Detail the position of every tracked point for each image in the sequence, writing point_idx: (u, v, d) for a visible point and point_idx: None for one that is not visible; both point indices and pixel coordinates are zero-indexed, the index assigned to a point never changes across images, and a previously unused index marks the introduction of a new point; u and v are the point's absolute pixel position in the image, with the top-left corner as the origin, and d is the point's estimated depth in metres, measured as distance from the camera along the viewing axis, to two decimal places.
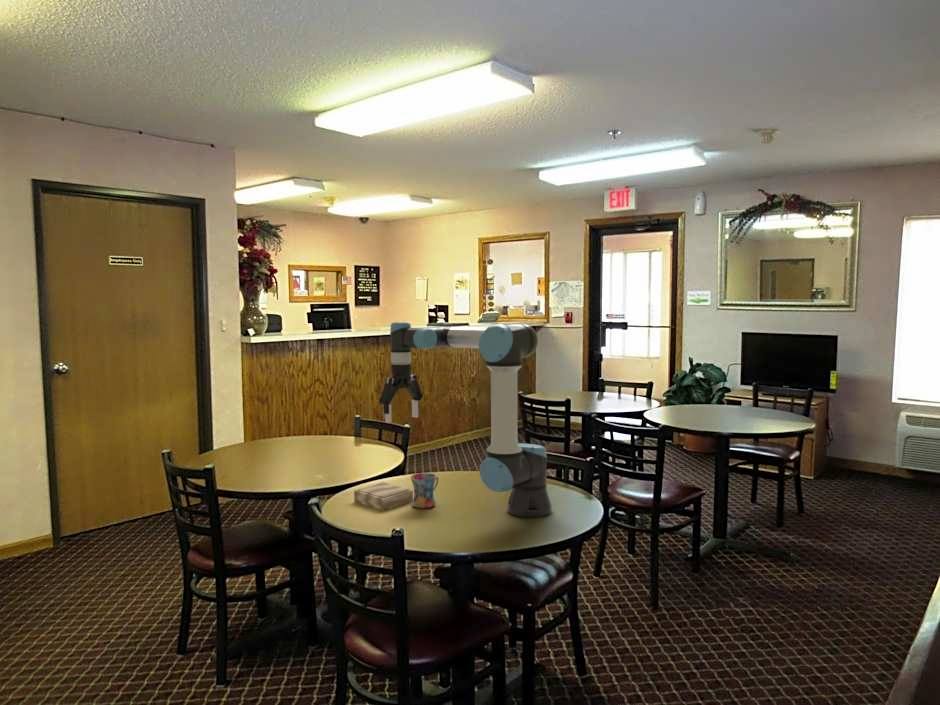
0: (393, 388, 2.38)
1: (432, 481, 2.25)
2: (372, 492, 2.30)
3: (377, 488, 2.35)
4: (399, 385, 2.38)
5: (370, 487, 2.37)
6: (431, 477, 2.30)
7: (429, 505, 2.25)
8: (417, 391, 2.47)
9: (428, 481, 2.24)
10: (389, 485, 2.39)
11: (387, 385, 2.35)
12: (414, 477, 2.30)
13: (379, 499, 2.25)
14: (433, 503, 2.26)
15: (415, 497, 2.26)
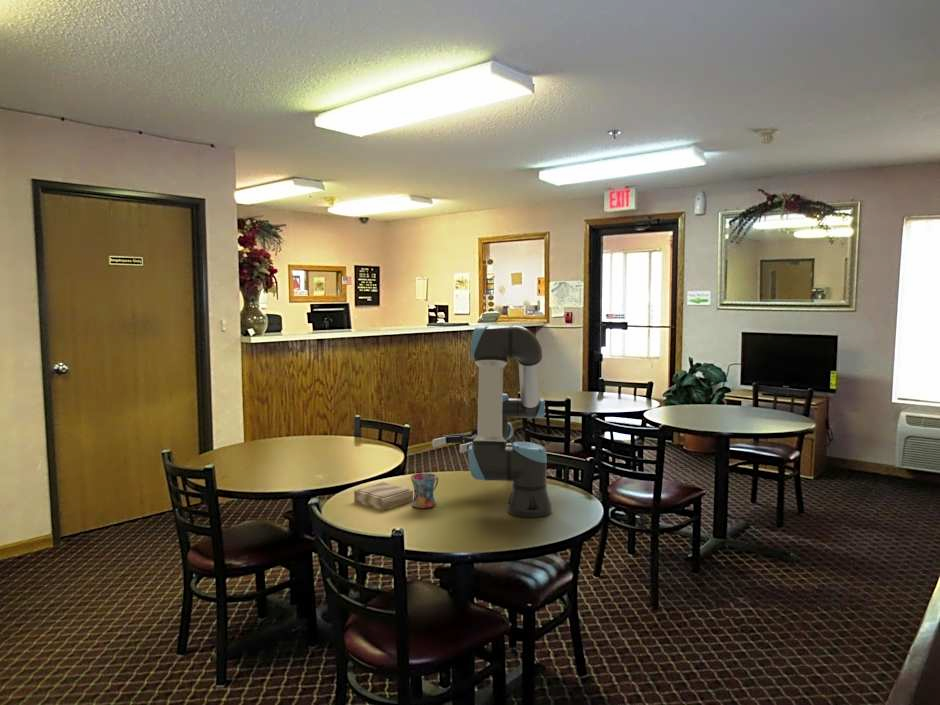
0: None
1: (432, 481, 2.25)
2: (372, 492, 2.30)
3: (377, 488, 2.35)
4: (465, 434, 2.48)
5: (370, 487, 2.37)
6: (431, 477, 2.30)
7: (429, 505, 2.25)
8: None
9: (428, 481, 2.24)
10: (389, 485, 2.39)
11: None
12: (414, 477, 2.30)
13: (379, 499, 2.25)
14: (433, 503, 2.26)
15: (415, 497, 2.26)
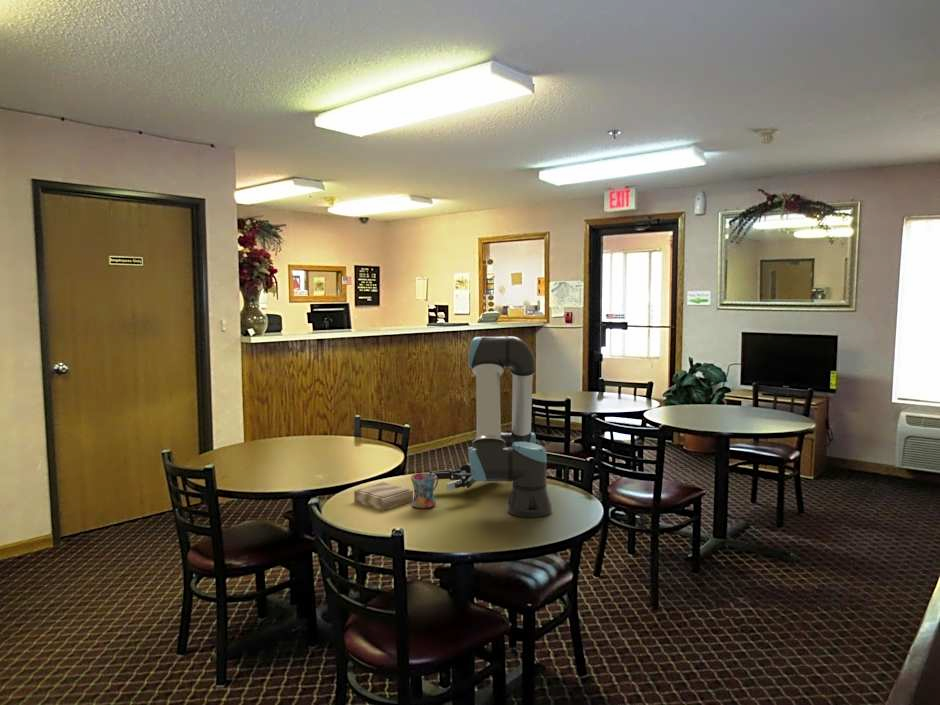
0: None
1: (432, 481, 2.25)
2: (372, 492, 2.30)
3: (377, 488, 2.35)
4: (454, 470, 2.44)
5: (370, 487, 2.37)
6: (431, 477, 2.30)
7: (429, 505, 2.25)
8: None
9: (428, 481, 2.24)
10: (389, 485, 2.39)
11: None
12: (414, 477, 2.30)
13: (379, 499, 2.25)
14: (433, 503, 2.26)
15: (415, 497, 2.26)
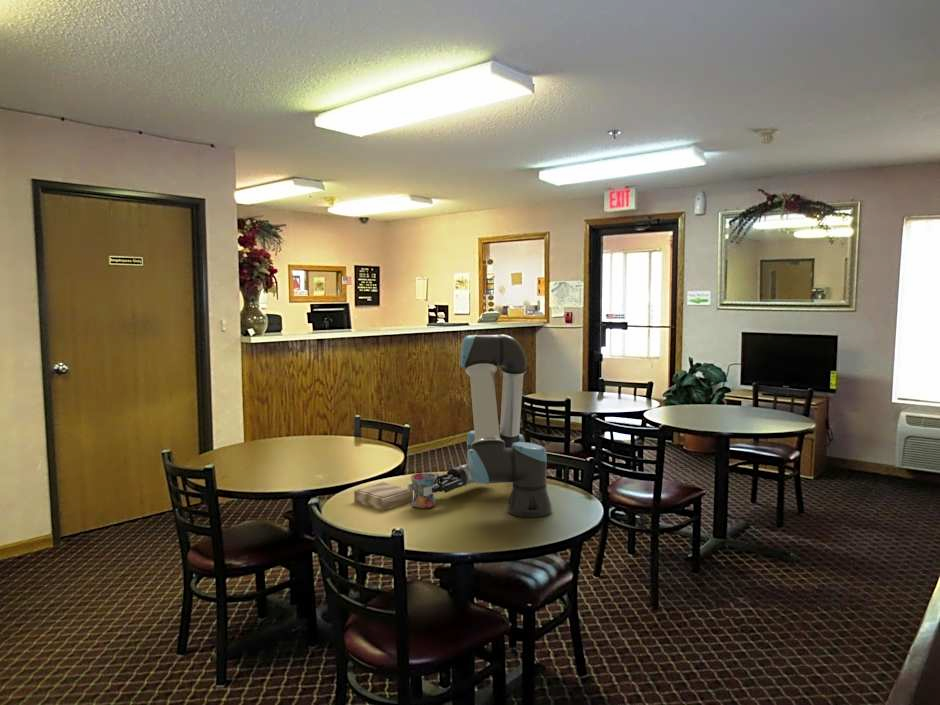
0: None
1: (432, 481, 2.25)
2: (372, 492, 2.30)
3: (377, 488, 2.35)
4: (441, 475, 2.37)
5: (370, 487, 2.37)
6: (431, 477, 2.30)
7: (429, 505, 2.25)
8: None
9: (428, 481, 2.24)
10: (389, 485, 2.39)
11: None
12: (414, 477, 2.30)
13: (379, 499, 2.25)
14: (433, 503, 2.26)
15: (415, 497, 2.26)
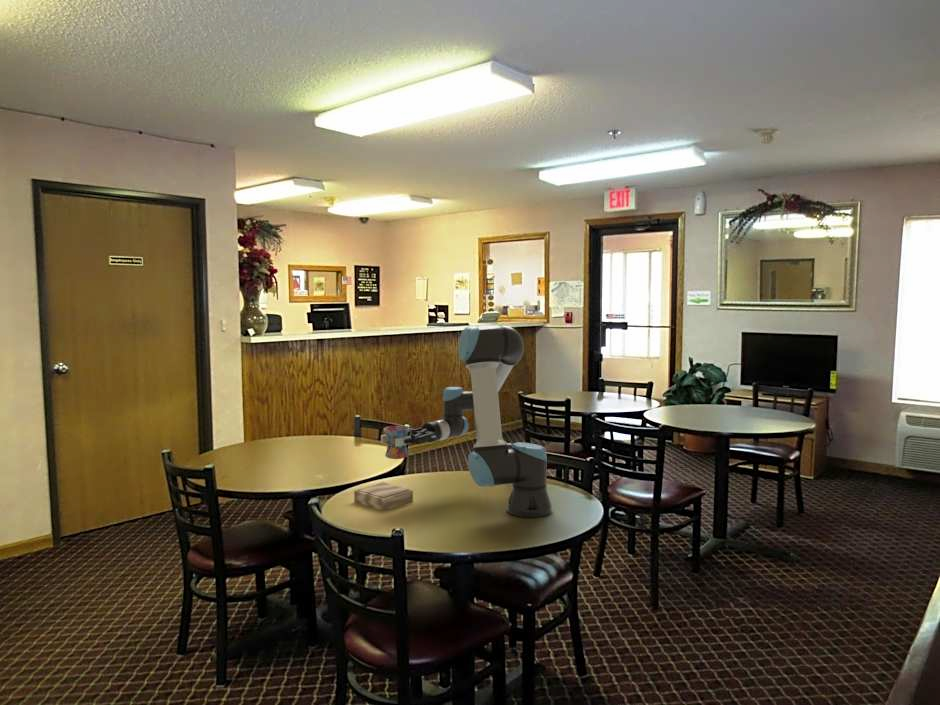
0: None
1: (404, 432, 2.29)
2: (372, 492, 2.30)
3: (377, 488, 2.35)
4: (415, 429, 2.41)
5: (370, 487, 2.37)
6: (404, 429, 2.34)
7: (401, 456, 2.29)
8: None
9: (400, 432, 2.27)
10: (389, 485, 2.39)
11: None
12: (388, 429, 2.33)
13: (379, 499, 2.25)
14: (405, 454, 2.30)
15: (388, 448, 2.30)
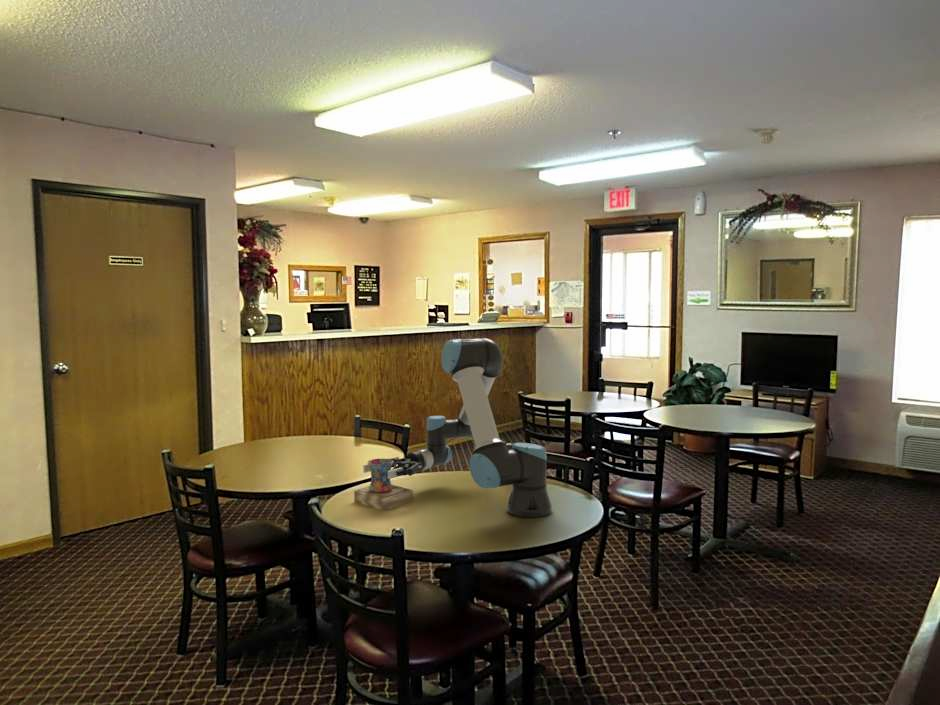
0: None
1: (388, 466, 2.29)
2: (372, 492, 2.30)
3: None
4: (398, 459, 2.42)
5: None
6: (388, 462, 2.35)
7: (385, 489, 2.29)
8: None
9: (384, 466, 2.28)
10: None
11: None
12: (371, 462, 2.34)
13: (379, 499, 2.25)
14: (389, 487, 2.31)
15: (372, 482, 2.31)
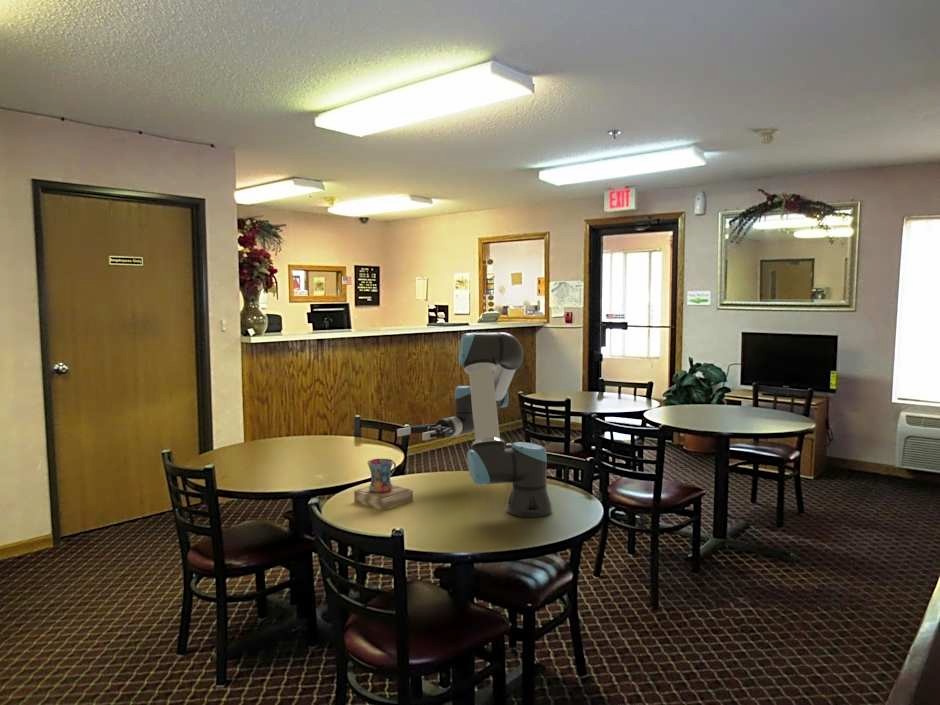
0: None
1: (388, 466, 2.29)
2: (372, 492, 2.30)
3: None
4: (430, 425, 2.54)
5: None
6: (388, 462, 2.35)
7: (385, 489, 2.29)
8: None
9: (384, 466, 2.28)
10: None
11: None
12: (371, 462, 2.34)
13: (379, 499, 2.25)
14: (389, 487, 2.31)
15: (372, 482, 2.31)
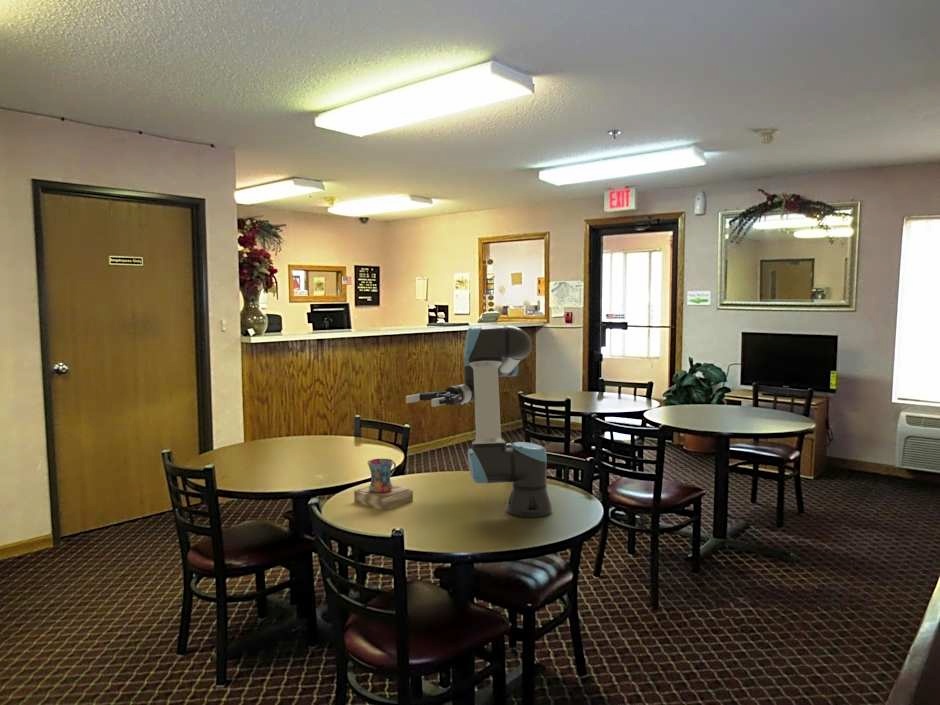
0: None
1: (388, 466, 2.29)
2: (372, 492, 2.30)
3: None
4: (439, 392, 2.53)
5: None
6: (388, 462, 2.35)
7: (385, 489, 2.29)
8: None
9: (384, 466, 2.28)
10: None
11: None
12: (371, 462, 2.34)
13: (379, 499, 2.25)
14: (389, 487, 2.31)
15: (372, 482, 2.31)
